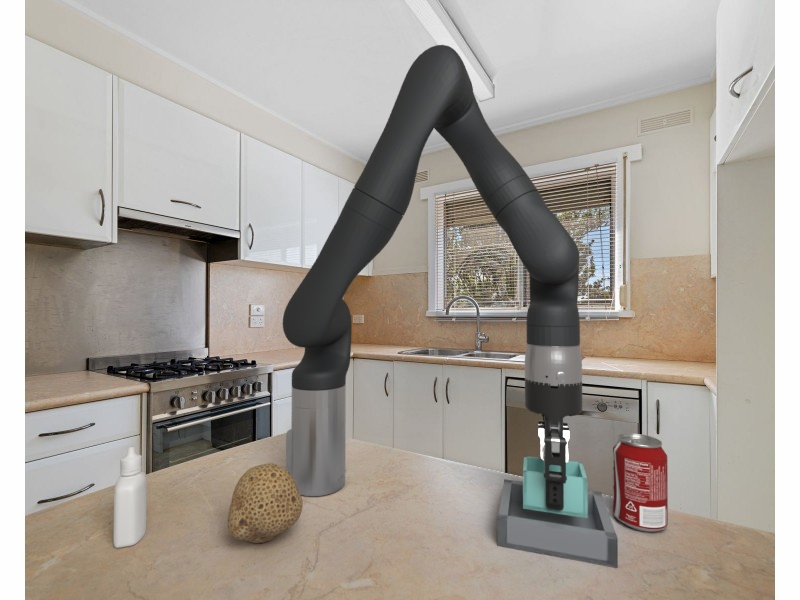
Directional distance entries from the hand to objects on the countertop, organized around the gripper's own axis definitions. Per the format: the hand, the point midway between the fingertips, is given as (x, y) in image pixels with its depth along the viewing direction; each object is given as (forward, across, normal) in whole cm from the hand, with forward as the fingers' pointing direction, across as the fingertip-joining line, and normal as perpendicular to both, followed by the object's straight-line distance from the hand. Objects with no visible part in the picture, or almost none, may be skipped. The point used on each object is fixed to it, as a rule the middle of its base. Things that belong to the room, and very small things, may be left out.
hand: (553, 496), depth 57 cm
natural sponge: (+5, +15, -36) cm, 39 cm away
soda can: (+5, -6, +12) cm, 14 cm away
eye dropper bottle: (+5, +20, -54) cm, 58 cm away
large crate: (+5, 0, 0) cm, 5 cm away
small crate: (+1, 0, 0) cm, 1 cm away
